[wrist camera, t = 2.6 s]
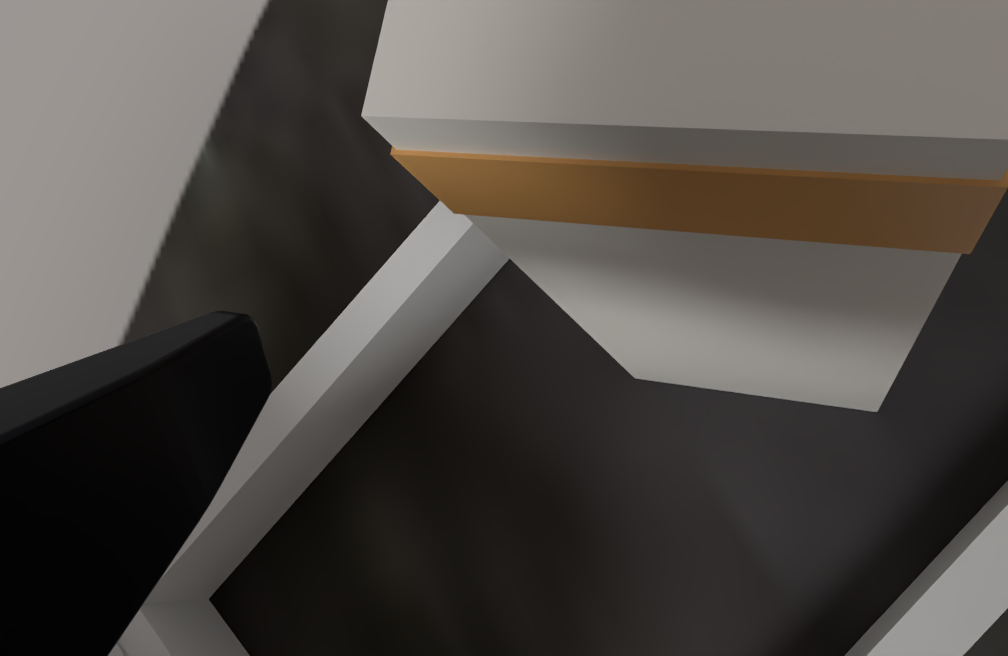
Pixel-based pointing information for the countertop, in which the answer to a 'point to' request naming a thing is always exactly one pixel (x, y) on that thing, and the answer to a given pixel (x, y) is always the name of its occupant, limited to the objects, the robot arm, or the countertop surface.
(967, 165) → the module
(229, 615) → the countertop surface
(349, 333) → the grey angled frame
